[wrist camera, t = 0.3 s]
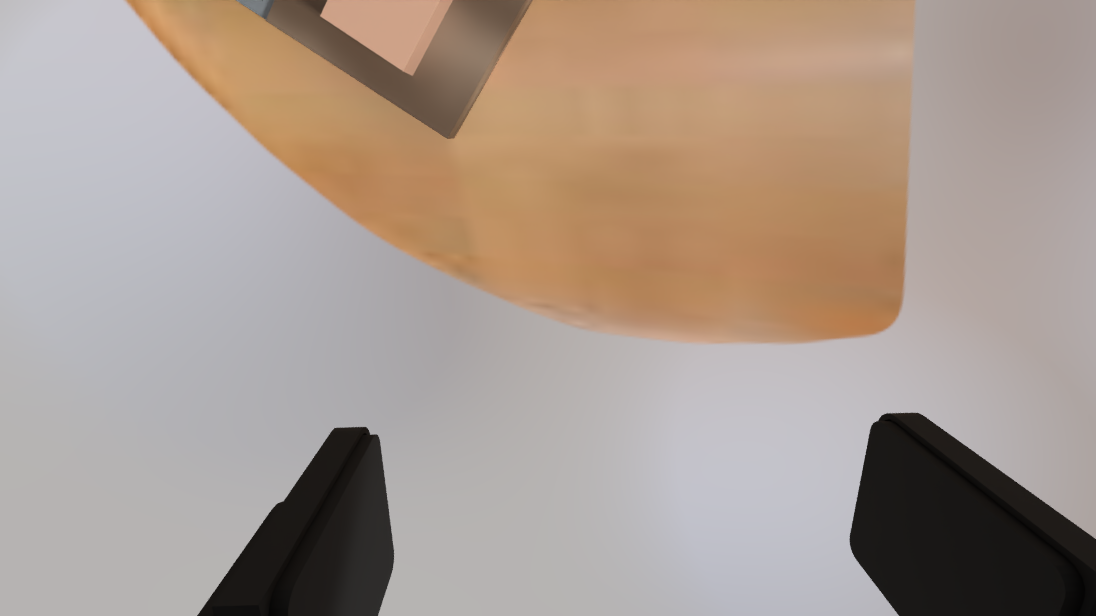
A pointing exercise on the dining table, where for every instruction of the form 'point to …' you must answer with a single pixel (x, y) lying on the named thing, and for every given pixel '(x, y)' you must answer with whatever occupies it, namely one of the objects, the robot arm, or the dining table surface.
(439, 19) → the terracotta tile
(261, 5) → the box
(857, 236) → the dining table surface
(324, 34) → the walnut board
